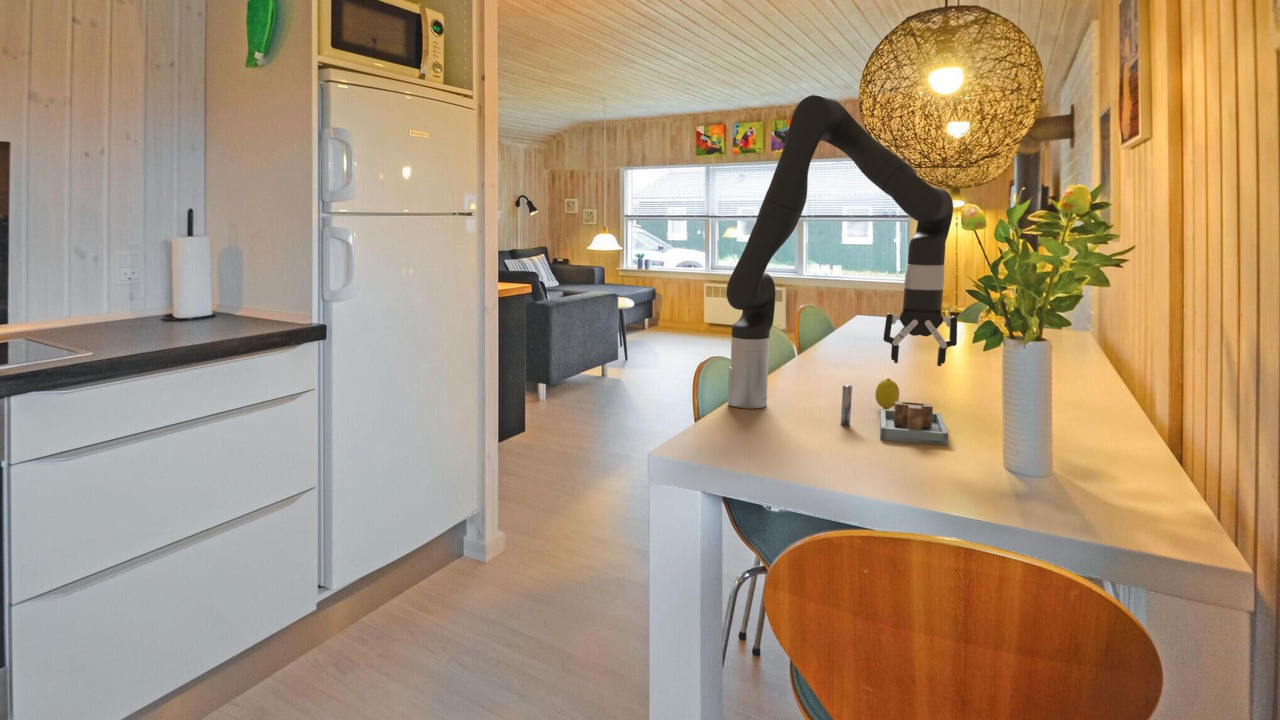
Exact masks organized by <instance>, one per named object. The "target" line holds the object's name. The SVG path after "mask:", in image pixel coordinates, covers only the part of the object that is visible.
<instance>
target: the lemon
mask: <svg viewBox="0 0 1280 720" xmlns="http://www.w3.org/2000/svg"><path fill="white" fill-rule="evenodd" d="M875 401H876V403H877V404H878V405H879V406H880V407H881V408H882V409H888V410H890V409H892V408H894V405H895V401H900V388H899V386H898V384H897V383H896V382H895V381H894V380H892V379H891V378H889V377H888V378H886V379H884V380H882V381H880V382H878V384H877V386H876V389H875Z"/></svg>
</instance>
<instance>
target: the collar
mask: <svg viewBox="0 0 1280 720" xmlns="http://www.w3.org/2000/svg"><path fill="white" fill-rule="evenodd" d="M933 407H934V406H933V405H932V404H931V403H927V402H926V403H924V402H910V401H900V400H898V401H895V405H894V407H893V410H894V420H893V421H894V425H903V426H907V428H908V429H911V430H921V427H927V428H931V427H932V413H934V412H933V409H934V408H933Z"/></svg>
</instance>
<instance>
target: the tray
mask: <svg viewBox="0 0 1280 720" xmlns="http://www.w3.org/2000/svg"><path fill="white" fill-rule="evenodd" d="M879 413H880V416H879V436H880V437H879V438H880V439H879V440H880V441H889V440H891V441H892V442H901V441H902V442H903V443H912V442H913V444H925V445H936V446H937V445H938V446H948V440H949V439H948V438H949V431H948V430H947V427H946V424H945V422H944V419H943V416H942V413H936V412H933V413H932V427H931V428H927V427H921V430H911V429H908V428H907V426H903V425H894V421H893V420H894V409H884V408H880V412H879Z"/></svg>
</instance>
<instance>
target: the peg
mask: <svg viewBox="0 0 1280 720" xmlns="http://www.w3.org/2000/svg"><path fill="white" fill-rule="evenodd" d="M852 394H853V385H850V384H843V385H842V395H841V398H842V399H841V413H840V414H841V416H840V426H842V427H850V426H851V413H852V412H851V411H852V398H853V397H852Z"/></svg>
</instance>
